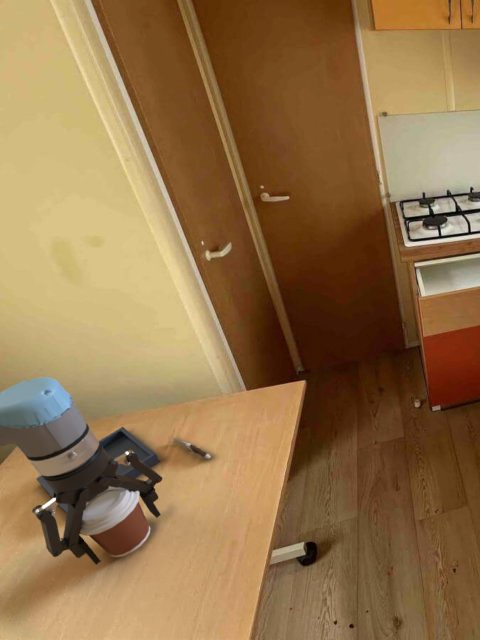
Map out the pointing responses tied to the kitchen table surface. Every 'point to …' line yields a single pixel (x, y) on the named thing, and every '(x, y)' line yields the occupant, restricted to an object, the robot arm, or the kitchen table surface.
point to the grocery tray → (114, 449)
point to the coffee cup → (116, 521)
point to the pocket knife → (194, 449)
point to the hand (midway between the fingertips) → (126, 535)
